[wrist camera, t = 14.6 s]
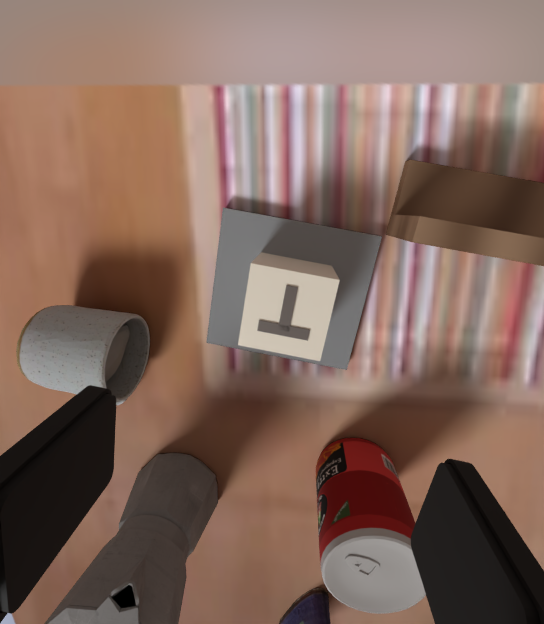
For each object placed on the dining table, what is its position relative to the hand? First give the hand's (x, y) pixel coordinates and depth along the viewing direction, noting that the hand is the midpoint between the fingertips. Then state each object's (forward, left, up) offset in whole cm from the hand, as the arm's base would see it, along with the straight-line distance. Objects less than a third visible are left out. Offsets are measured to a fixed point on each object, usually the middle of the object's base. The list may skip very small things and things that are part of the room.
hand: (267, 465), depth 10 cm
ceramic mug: (+16, +9, -22) cm, 28 cm away
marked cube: (0, 0, -20) cm, 20 cm away
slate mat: (0, 0, -21) cm, 21 cm away
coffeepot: (+8, +25, -22) cm, 34 cm away
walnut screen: (-16, -9, -21) cm, 28 cm away
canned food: (-10, +17, -22) cm, 29 cm away
